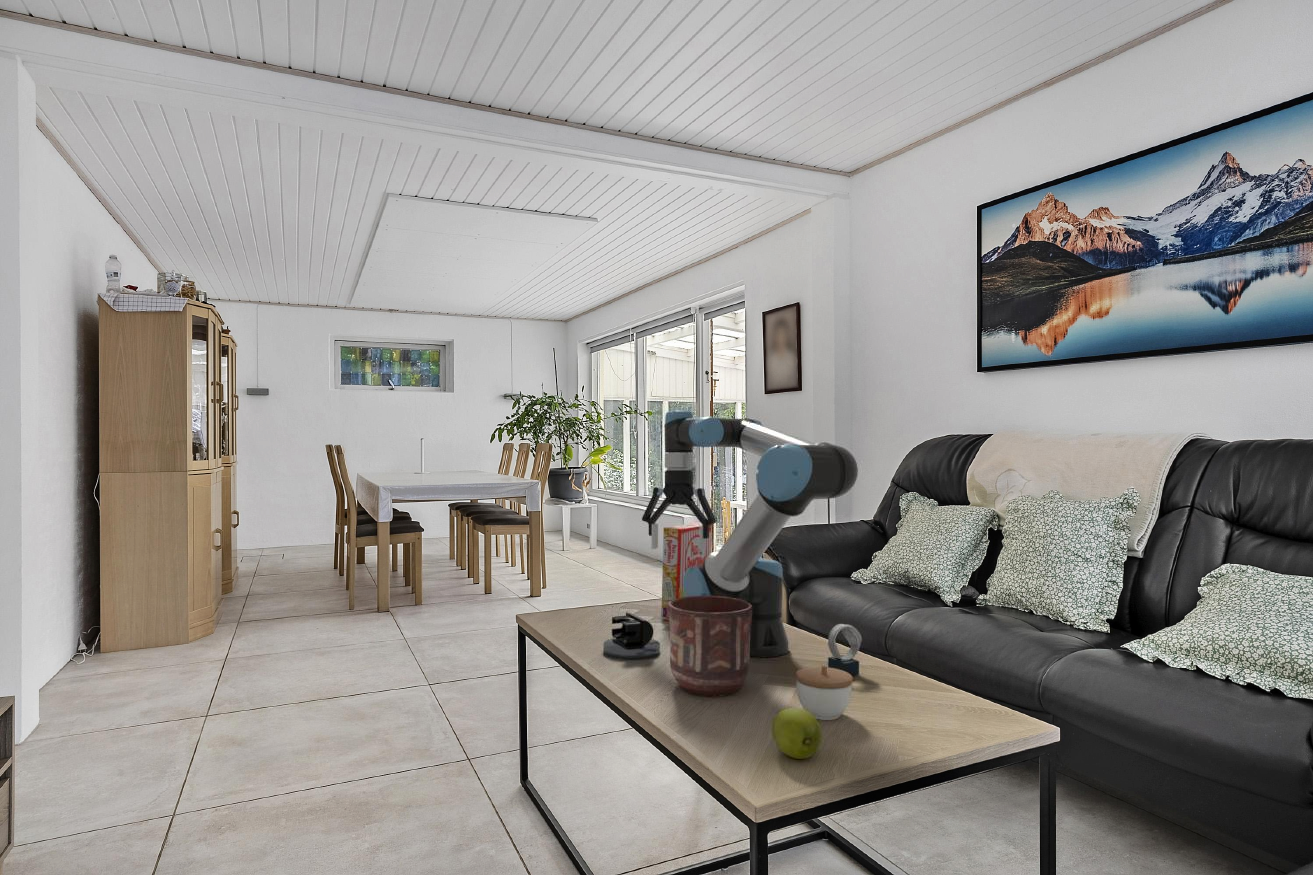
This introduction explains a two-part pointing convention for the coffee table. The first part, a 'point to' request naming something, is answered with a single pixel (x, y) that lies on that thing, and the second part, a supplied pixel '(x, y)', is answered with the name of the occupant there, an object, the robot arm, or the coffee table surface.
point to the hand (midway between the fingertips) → (678, 549)
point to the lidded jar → (824, 691)
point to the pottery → (710, 643)
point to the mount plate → (631, 650)
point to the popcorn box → (680, 559)
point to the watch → (846, 661)
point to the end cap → (632, 631)
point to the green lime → (796, 732)
